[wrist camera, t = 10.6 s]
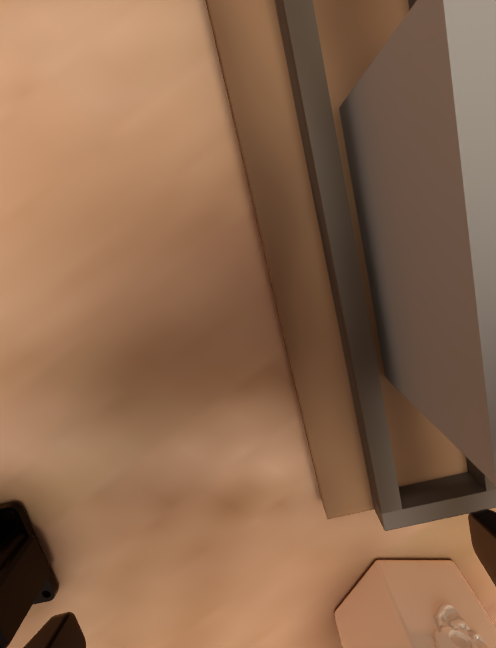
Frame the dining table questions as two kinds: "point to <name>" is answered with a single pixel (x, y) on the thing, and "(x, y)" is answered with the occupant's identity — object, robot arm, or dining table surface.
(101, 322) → the dining table surface
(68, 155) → the dining table surface
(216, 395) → the dining table surface
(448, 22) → the door panel
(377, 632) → the jar
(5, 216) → the dining table surface
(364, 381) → the track board
